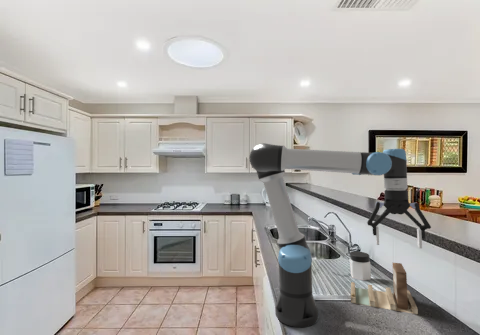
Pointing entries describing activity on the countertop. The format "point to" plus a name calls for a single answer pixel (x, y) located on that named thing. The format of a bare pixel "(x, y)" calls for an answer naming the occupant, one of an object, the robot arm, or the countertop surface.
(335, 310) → the countertop surface
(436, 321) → the countertop surface
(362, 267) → the jar
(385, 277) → the countertop surface
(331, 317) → the countertop surface
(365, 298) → the slotted rack
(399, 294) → the wooden block
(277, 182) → the robot arm
